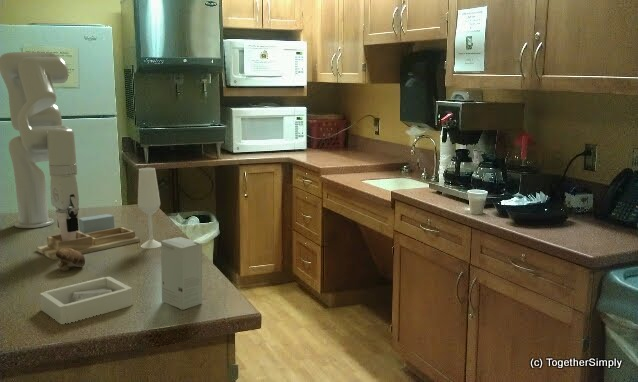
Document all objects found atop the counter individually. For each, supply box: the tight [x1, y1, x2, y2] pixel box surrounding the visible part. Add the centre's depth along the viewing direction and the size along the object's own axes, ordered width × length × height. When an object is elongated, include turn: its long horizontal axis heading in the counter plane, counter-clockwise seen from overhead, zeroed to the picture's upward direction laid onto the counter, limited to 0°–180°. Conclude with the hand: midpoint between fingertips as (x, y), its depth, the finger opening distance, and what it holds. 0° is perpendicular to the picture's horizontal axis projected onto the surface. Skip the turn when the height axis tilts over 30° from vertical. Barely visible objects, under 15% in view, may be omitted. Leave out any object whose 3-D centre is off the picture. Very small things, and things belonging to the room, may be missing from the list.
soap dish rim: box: [39, 276, 134, 325], centre depth 139 cm, size 12×16×4 cm
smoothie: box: [54, 207, 76, 241], centre depth 184 cm, size 6×6×14 cm
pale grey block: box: [78, 213, 115, 234], centre depth 203 cm, size 4×10×6 cm, turn 129°
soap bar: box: [71, 288, 112, 303], centre depth 141 cm, size 10×6×6 cm, turn 113°
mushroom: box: [56, 248, 86, 272], centre depth 167 cm, size 8×8×6 cm
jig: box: [36, 226, 141, 261], centre depth 189 cm, size 13×27×4 cm, turn 134°
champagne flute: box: [137, 167, 161, 249], centre depth 187 cm, size 7×7×24 cm
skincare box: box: [160, 236, 203, 311], centre depth 141 cm, size 8×6×15 cm
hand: (68, 228), depth 184 cm, fingers closed on smoothie, 6 cm apart
